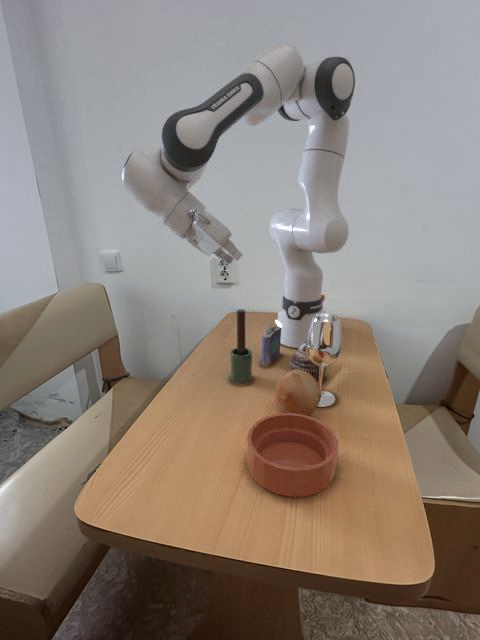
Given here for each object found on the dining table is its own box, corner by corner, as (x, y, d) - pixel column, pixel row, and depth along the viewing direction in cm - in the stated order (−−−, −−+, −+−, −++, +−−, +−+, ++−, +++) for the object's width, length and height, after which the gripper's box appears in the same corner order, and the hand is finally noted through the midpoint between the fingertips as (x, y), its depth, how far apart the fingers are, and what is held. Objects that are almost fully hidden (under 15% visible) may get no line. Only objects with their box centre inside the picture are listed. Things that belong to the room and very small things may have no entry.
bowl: (272, 429, 76) (273, 404, 74) (346, 456, 69) (350, 429, 66) (230, 476, 64) (230, 448, 62) (315, 514, 57) (318, 484, 54)
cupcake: (300, 366, 102) (302, 332, 98) (333, 376, 97) (337, 340, 93) (282, 379, 95) (283, 343, 91) (316, 391, 90) (319, 353, 86)
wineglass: (314, 386, 92) (321, 309, 84) (342, 398, 87) (352, 317, 78) (294, 398, 87) (300, 317, 79) (323, 411, 82) (331, 326, 74)
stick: (240, 375, 96) (239, 308, 88) (246, 377, 95) (246, 310, 87) (235, 378, 94) (235, 311, 87) (242, 380, 93) (242, 312, 86)
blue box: (268, 368, 101) (269, 331, 97) (258, 365, 102) (258, 329, 98) (281, 355, 108) (283, 320, 104) (272, 353, 110) (273, 319, 105)
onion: (317, 429, 76) (321, 386, 72) (269, 421, 79) (271, 380, 74) (321, 404, 85) (325, 364, 80) (278, 397, 87) (280, 359, 83)
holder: (238, 373, 98) (237, 345, 95) (255, 378, 96) (255, 350, 92) (227, 381, 94) (226, 353, 91) (244, 387, 92) (244, 358, 88)
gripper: (202, 194, 71) (255, 243, 75) (192, 216, 91) (234, 254, 95) (181, 219, 71) (236, 267, 75) (176, 236, 91) (219, 273, 95)
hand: (235, 260), depth 85 cm, fingers open, 8 cm apart
